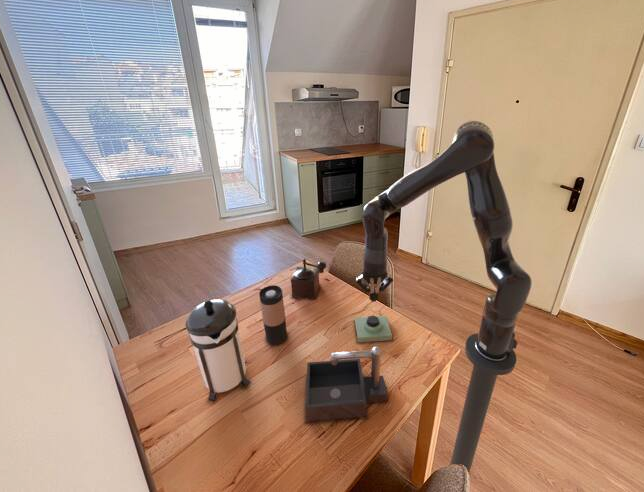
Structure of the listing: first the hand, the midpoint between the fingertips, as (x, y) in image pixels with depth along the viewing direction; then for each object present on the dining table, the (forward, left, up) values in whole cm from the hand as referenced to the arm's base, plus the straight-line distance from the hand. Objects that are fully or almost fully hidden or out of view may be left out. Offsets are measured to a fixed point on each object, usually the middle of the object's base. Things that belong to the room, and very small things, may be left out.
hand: (373, 300), depth 102 cm
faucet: (+9, +24, -11) cm, 28 cm away
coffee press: (+49, +15, -14) cm, 53 cm away
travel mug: (+35, 0, -14) cm, 38 cm away
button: (0, 0, -11) cm, 11 cm away
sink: (+12, +24, -14) cm, 30 cm away
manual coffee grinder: (+23, -25, -14) cm, 37 cm away
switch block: (0, 0, -14) cm, 14 cm away
